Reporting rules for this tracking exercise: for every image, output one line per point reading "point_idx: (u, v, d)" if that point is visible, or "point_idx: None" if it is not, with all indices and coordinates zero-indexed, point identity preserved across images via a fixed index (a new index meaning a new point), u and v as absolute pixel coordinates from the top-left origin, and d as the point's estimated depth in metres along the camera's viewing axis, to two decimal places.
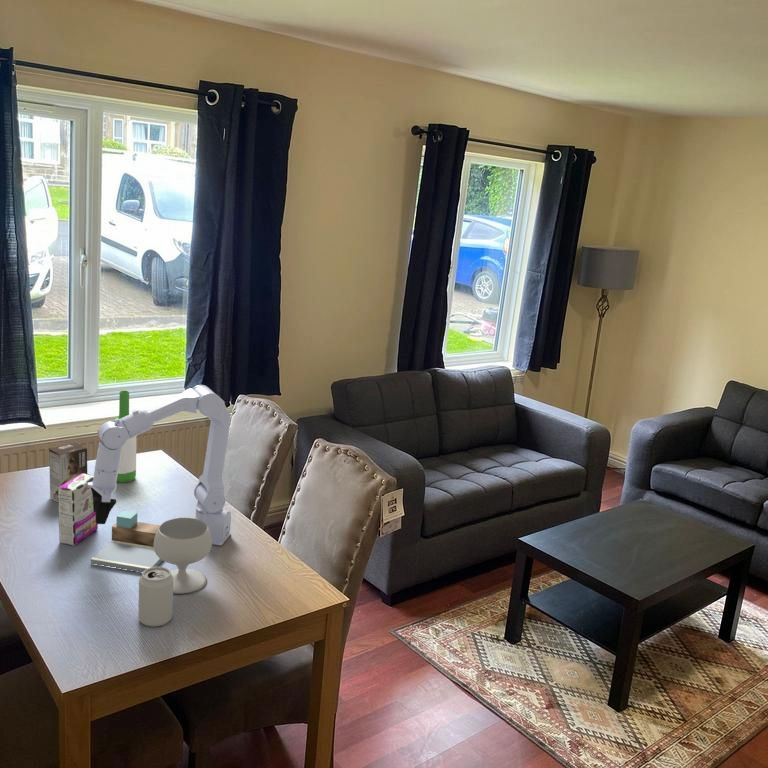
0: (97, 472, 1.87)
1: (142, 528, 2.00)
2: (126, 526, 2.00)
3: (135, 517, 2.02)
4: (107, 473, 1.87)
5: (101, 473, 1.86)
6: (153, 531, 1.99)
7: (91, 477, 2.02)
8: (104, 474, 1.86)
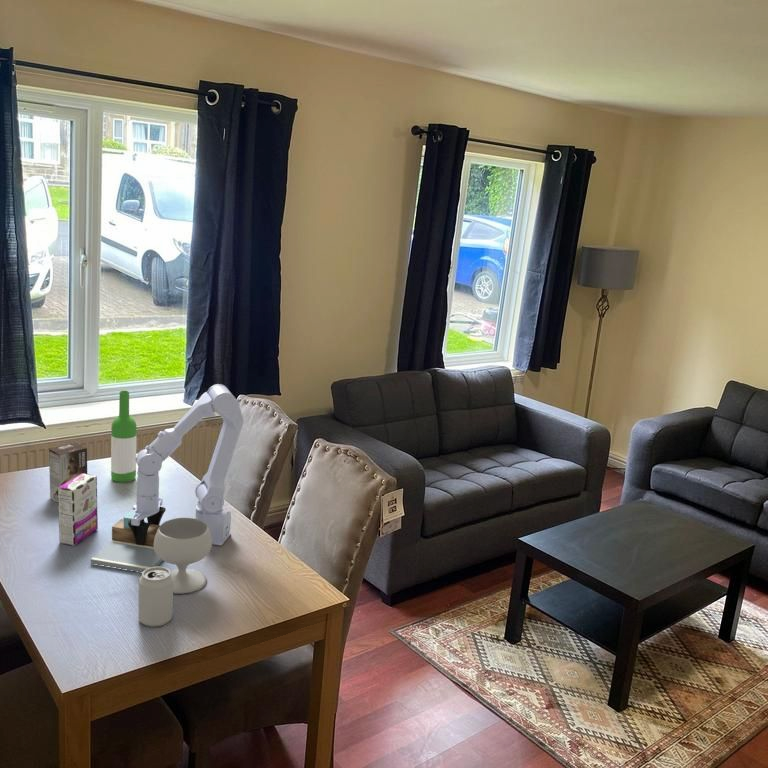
0: None
1: None
2: None
3: None
4: (143, 498, 1.96)
5: (138, 497, 1.96)
6: (153, 531, 1.99)
7: (91, 477, 2.02)
8: (140, 498, 1.96)
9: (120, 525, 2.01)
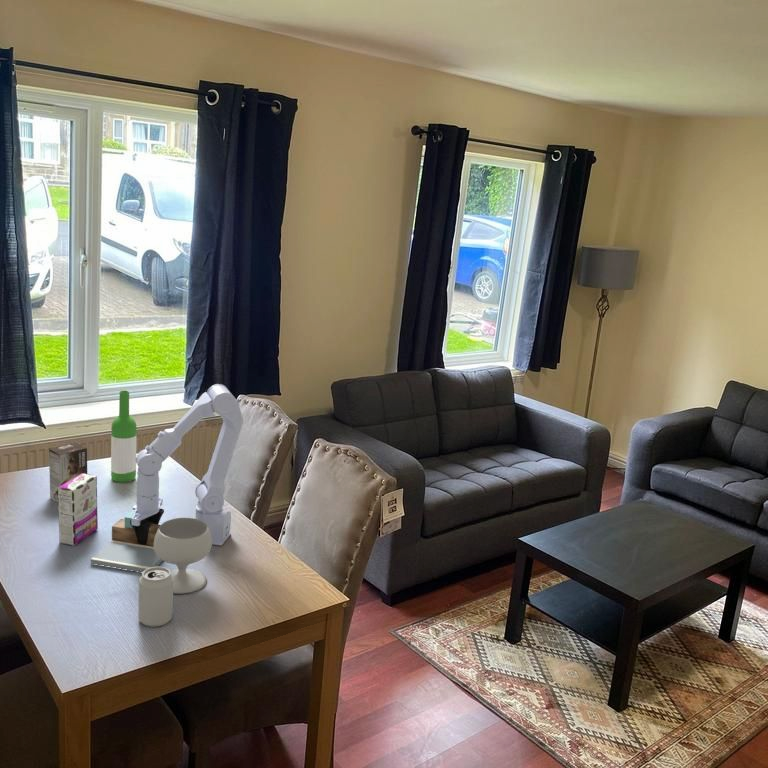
0: (137, 496, 1.97)
1: None
2: None
3: None
4: (143, 498, 1.96)
5: (138, 497, 1.96)
6: (153, 531, 1.99)
7: (91, 477, 2.02)
8: (140, 498, 1.96)
9: (120, 524, 2.01)
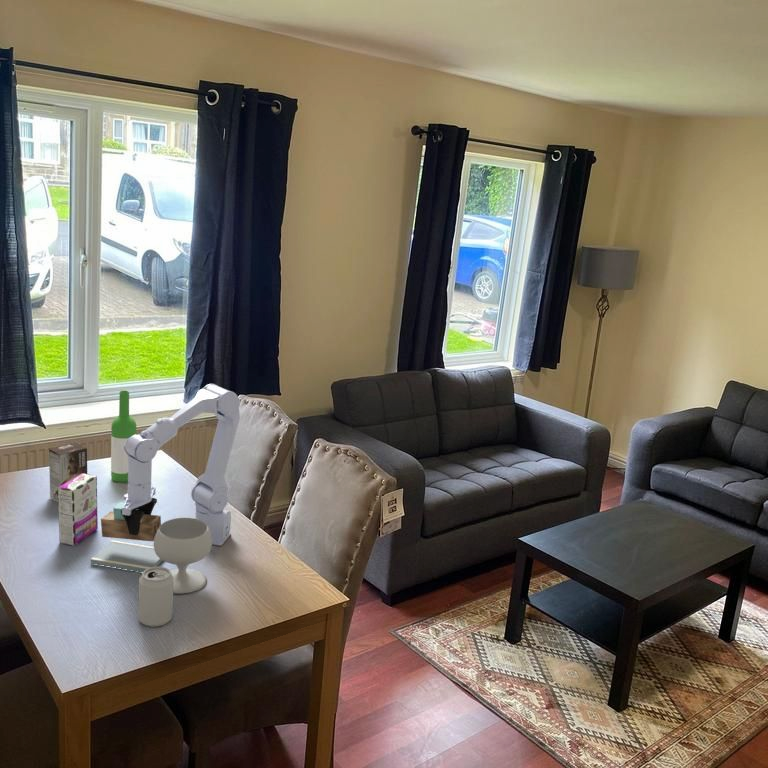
0: (128, 484, 1.87)
1: None
2: None
3: None
4: (134, 486, 1.86)
5: (129, 485, 1.86)
6: (144, 521, 1.89)
7: (91, 477, 2.02)
8: (131, 487, 1.86)
9: (110, 516, 1.91)
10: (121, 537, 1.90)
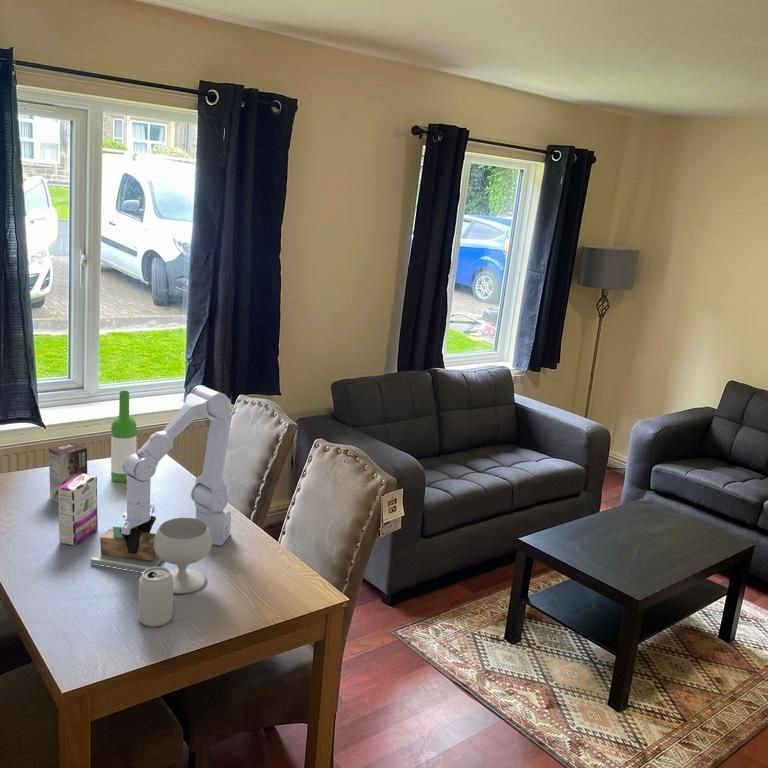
0: (127, 503, 1.87)
1: None
2: None
3: None
4: (133, 505, 1.86)
5: (128, 504, 1.86)
6: (143, 539, 1.89)
7: (91, 477, 2.02)
8: (130, 506, 1.86)
9: (109, 534, 1.91)
10: (120, 555, 1.90)
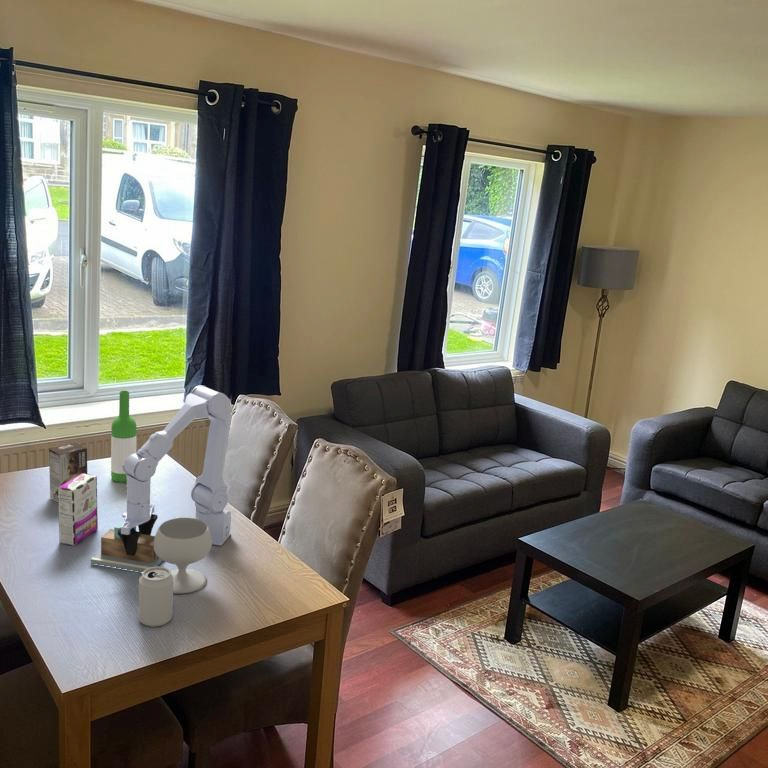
0: (127, 503, 1.87)
1: None
2: None
3: (134, 528, 1.92)
4: (133, 505, 1.86)
5: (128, 504, 1.86)
6: (144, 542, 1.89)
7: (91, 477, 2.02)
8: (130, 506, 1.86)
9: (110, 535, 1.91)
10: (120, 556, 1.90)
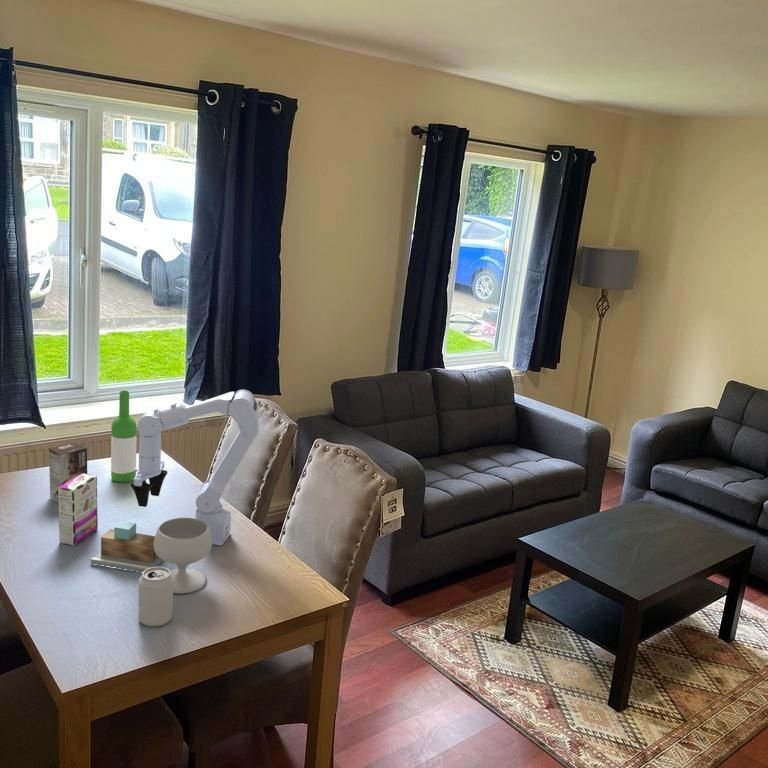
0: (139, 457, 2.00)
1: (133, 539, 1.91)
2: (124, 537, 1.90)
3: (134, 528, 1.92)
4: (145, 459, 1.99)
5: (140, 458, 1.99)
6: (144, 542, 1.89)
7: (91, 477, 2.02)
8: (142, 460, 1.99)
9: (110, 535, 1.91)
10: (120, 556, 1.90)
